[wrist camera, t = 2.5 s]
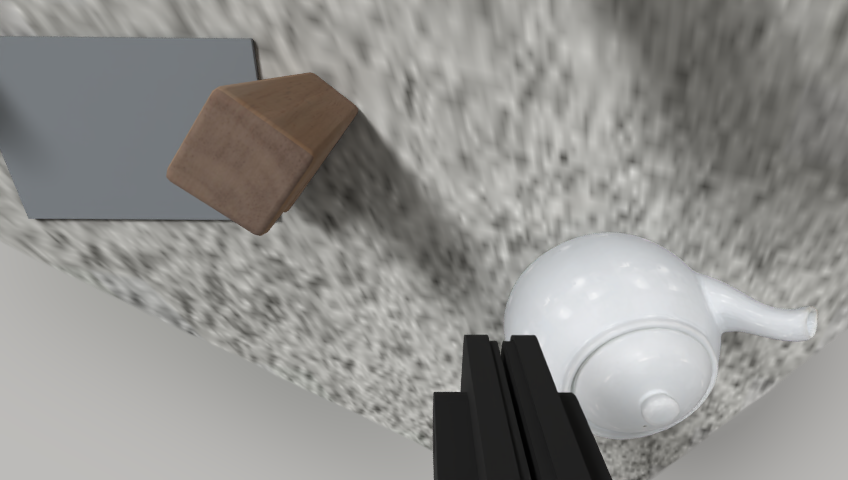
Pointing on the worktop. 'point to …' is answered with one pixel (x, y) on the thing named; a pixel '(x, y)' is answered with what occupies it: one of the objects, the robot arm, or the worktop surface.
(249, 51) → the rubber mat
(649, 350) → the teapot
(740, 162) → the worktop surface
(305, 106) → the wooden block
